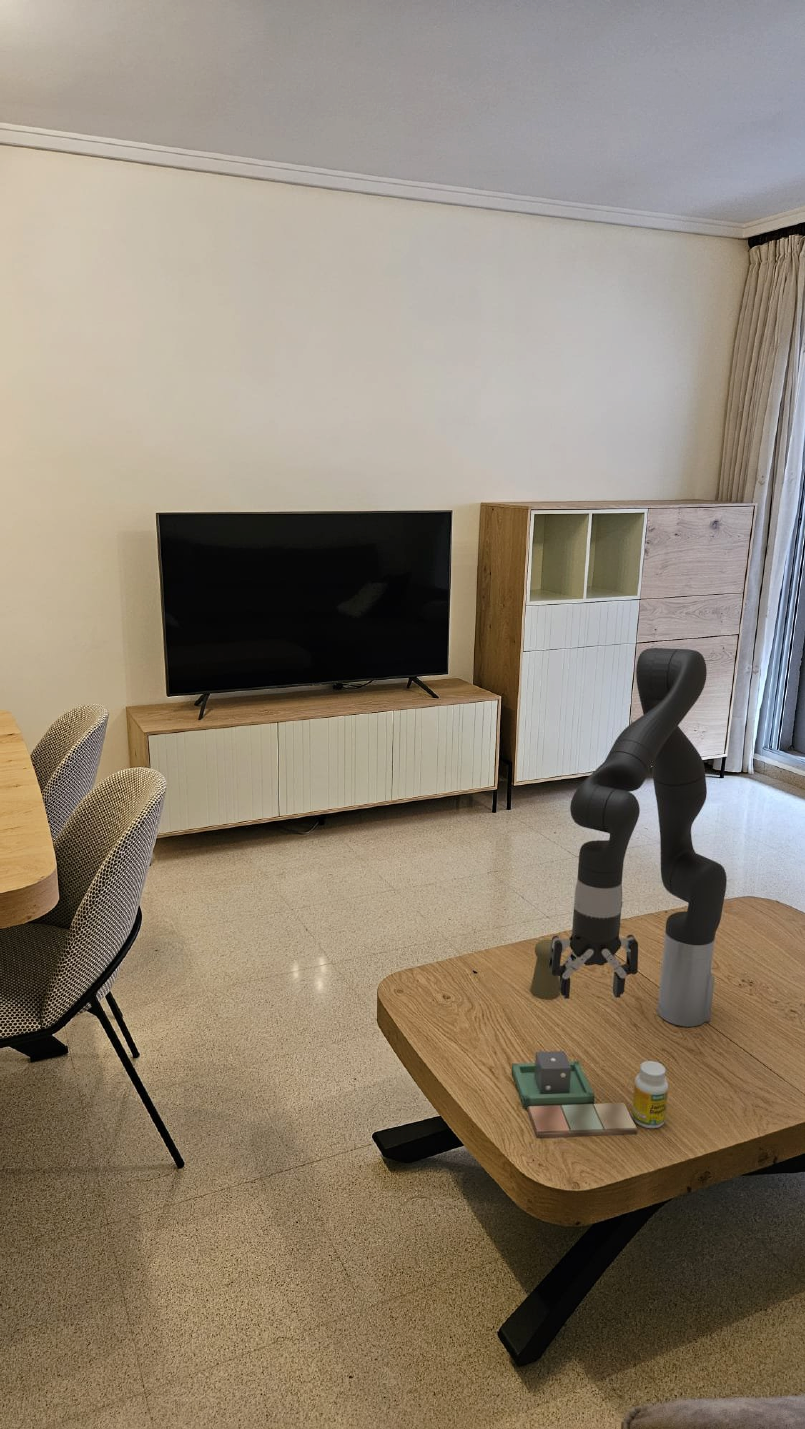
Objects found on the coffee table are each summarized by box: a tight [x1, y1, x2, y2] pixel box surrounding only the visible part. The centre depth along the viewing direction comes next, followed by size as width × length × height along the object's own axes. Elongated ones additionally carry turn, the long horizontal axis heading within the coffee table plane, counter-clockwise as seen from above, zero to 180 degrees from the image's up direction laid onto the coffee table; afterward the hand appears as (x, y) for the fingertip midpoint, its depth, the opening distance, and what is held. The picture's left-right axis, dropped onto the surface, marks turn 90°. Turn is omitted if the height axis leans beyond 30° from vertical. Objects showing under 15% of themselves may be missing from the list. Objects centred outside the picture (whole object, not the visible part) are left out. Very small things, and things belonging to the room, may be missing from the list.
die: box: [534, 1050, 571, 1094], centre depth 169 cm, size 5×5×5 cm
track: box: [526, 1102, 639, 1139], centre depth 161 cm, size 16×7×1 cm, turn 95°
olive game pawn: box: [529, 939, 561, 1001], centre depth 200 cm, size 6×6×11 cm
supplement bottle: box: [631, 1060, 669, 1129], centre depth 161 cm, size 5×5×10 cm
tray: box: [511, 1060, 596, 1109], centre depth 169 cm, size 12×10×2 cm
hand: (590, 995), depth 163 cm, fingers open, 8 cm apart
